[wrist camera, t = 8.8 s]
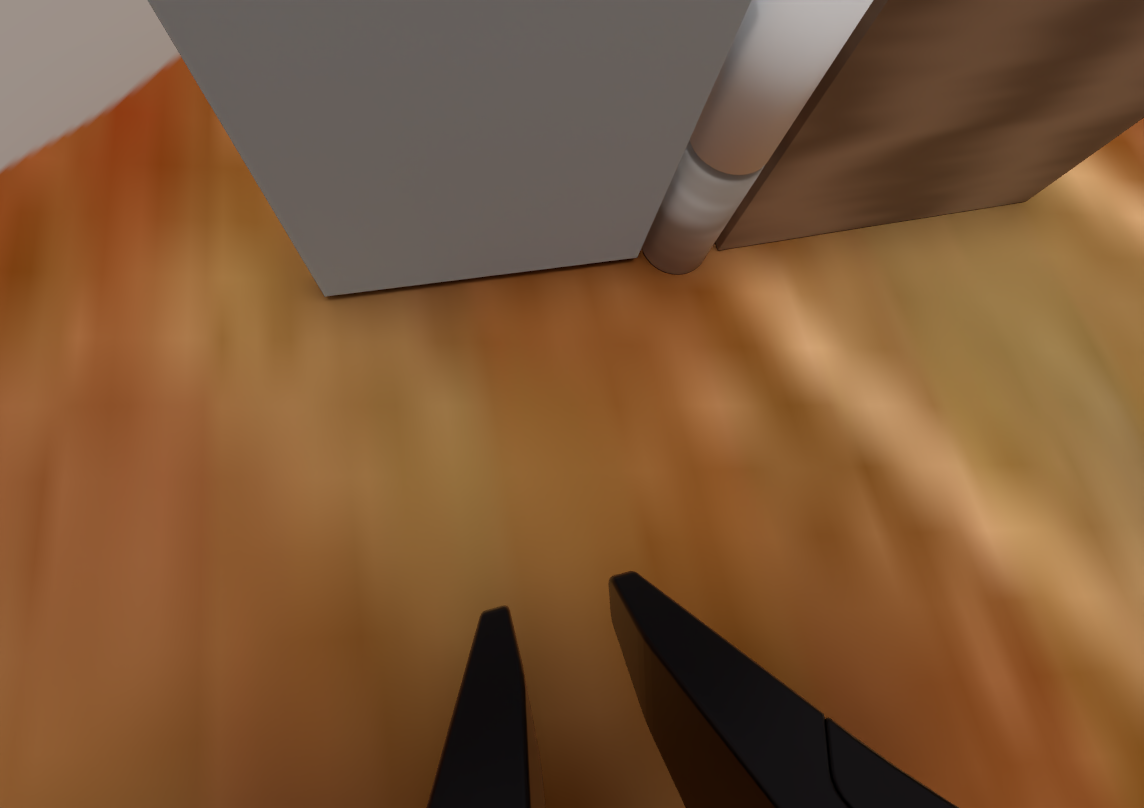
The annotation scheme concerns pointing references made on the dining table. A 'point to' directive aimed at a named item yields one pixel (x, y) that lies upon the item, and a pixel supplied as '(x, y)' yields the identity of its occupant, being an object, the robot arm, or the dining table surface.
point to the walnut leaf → (923, 123)
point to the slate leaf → (494, 118)
